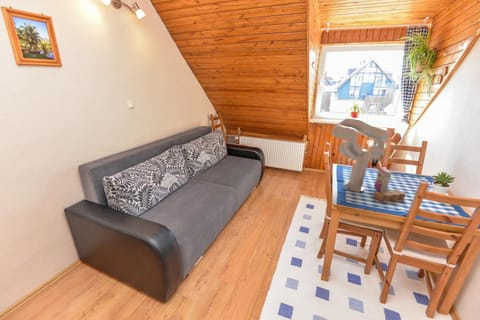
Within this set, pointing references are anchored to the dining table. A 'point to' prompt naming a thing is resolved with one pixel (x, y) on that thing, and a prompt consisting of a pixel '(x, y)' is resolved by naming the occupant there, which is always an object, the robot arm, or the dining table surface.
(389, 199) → the brown lumpy bar
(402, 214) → the dining table surface
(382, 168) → the candy bar box
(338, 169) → the dining table surface
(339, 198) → the dining table surface
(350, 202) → the dining table surface
